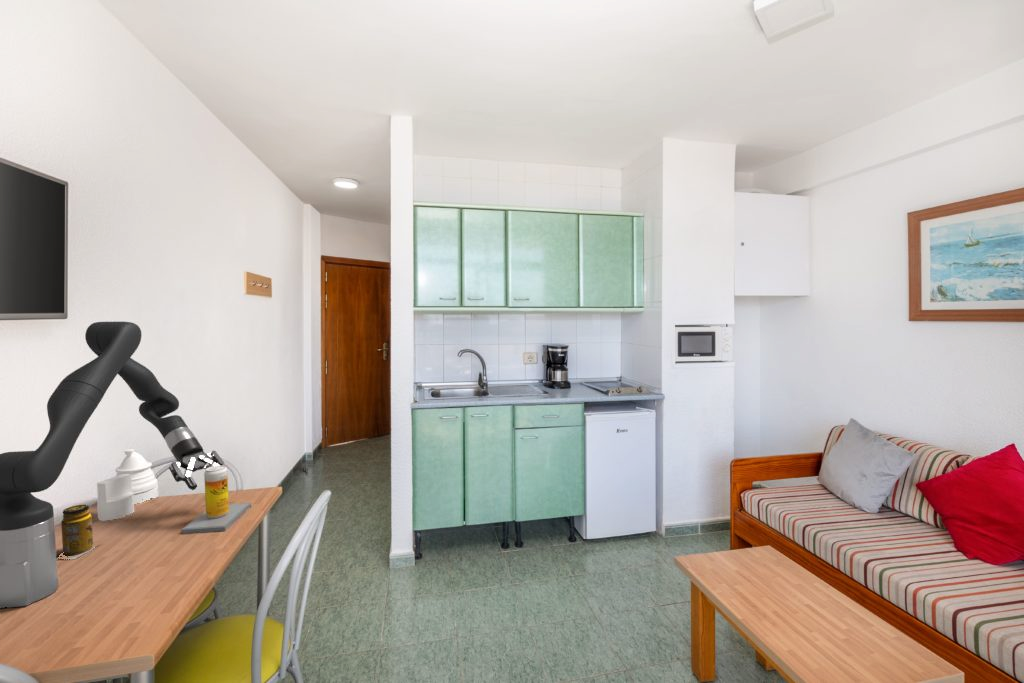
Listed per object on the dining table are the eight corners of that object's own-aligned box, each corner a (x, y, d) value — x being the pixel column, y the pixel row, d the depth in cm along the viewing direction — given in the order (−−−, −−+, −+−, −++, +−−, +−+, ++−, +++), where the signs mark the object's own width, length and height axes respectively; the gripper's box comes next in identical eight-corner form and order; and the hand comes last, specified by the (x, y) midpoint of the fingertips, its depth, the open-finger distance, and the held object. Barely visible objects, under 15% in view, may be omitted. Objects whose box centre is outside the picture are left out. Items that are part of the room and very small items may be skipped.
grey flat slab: (225, 530, 137) (225, 526, 137) (181, 533, 136) (181, 529, 136) (251, 506, 155) (251, 502, 155) (212, 508, 154) (212, 505, 154)
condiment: (102, 544, 130) (99, 502, 130) (74, 559, 122) (71, 515, 121) (75, 545, 130) (72, 503, 130) (46, 560, 122) (43, 516, 121)
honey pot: (144, 504, 158) (141, 452, 157) (102, 507, 156) (98, 455, 155) (166, 491, 171) (163, 442, 170) (127, 493, 169) (124, 444, 168)
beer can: (221, 519, 142) (218, 471, 142) (201, 519, 143) (199, 471, 142) (233, 511, 148) (231, 464, 148) (214, 511, 149) (212, 465, 148)
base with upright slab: (117, 508, 155) (115, 473, 154) (141, 509, 154) (139, 474, 153) (90, 520, 146) (87, 483, 146) (115, 521, 145) (112, 484, 144)
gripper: (164, 442, 143) (190, 484, 139) (210, 431, 156) (235, 469, 152) (154, 457, 145) (180, 499, 141) (200, 445, 158) (225, 483, 155)
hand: (208, 483), depth 147 cm, fingers open, 8 cm apart
